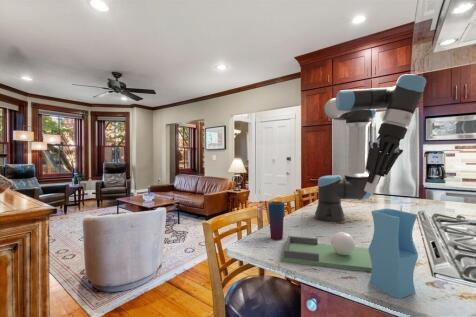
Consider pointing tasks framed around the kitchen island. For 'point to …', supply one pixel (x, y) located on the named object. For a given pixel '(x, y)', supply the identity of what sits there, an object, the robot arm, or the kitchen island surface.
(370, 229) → the kitchen island surface
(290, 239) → the grey u-shaped wall
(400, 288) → the vase
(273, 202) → the cup
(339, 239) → the ball
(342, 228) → the kitchen island surface
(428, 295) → the kitchen island surface
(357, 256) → the mat
